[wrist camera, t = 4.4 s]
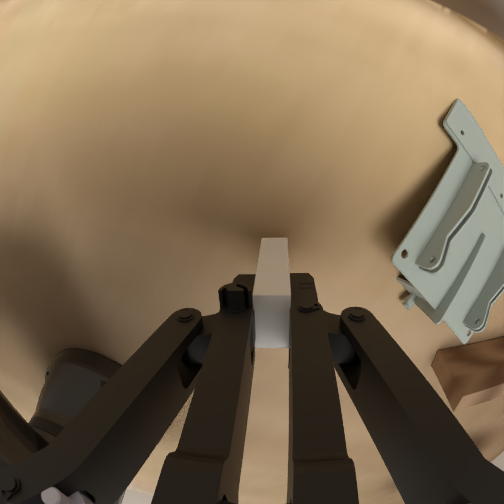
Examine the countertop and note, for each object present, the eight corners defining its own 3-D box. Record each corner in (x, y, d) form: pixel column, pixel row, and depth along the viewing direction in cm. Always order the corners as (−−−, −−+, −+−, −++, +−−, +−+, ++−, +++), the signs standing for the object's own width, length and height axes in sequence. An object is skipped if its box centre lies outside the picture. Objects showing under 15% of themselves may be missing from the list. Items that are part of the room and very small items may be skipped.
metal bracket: (479, 373, 16) (375, 256, 13) (439, 344, 21) (332, 240, 19) (552, 230, 15) (478, 83, 12) (509, 223, 20) (430, 101, 18)
